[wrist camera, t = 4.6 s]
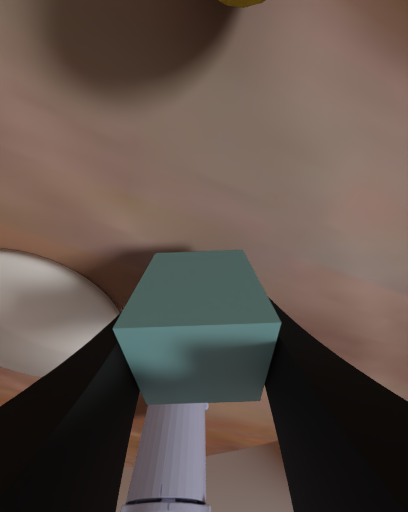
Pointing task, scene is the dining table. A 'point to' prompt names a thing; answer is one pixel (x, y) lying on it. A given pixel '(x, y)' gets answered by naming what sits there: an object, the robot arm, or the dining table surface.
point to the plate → (46, 312)
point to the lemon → (241, 2)
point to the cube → (199, 329)
